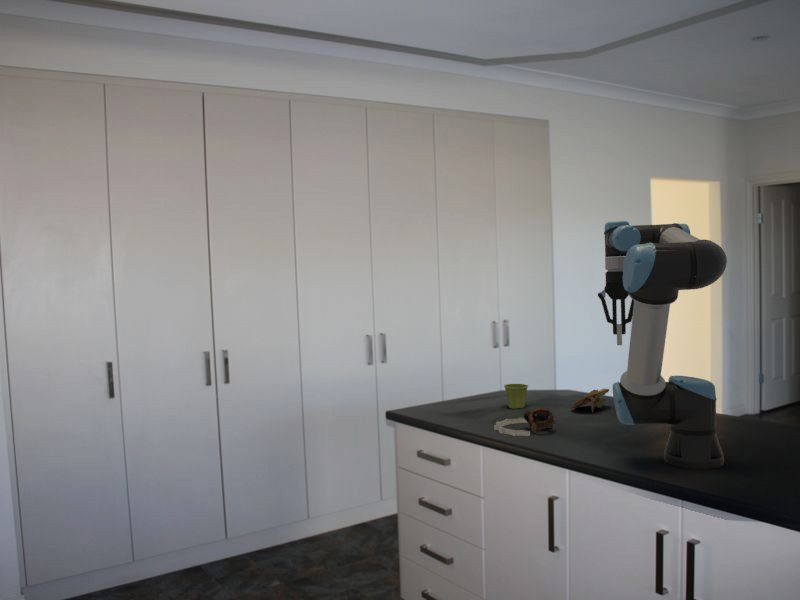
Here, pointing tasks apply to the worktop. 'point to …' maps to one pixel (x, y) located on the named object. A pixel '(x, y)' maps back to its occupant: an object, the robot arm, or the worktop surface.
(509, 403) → the plant pot
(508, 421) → the grey u-shaped piece
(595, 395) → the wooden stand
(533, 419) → the pottery mug
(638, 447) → the worktop surface
